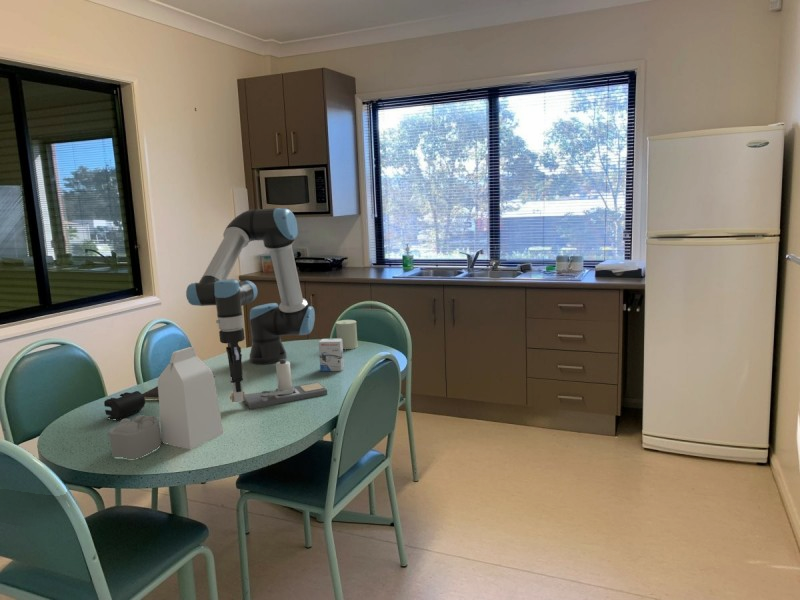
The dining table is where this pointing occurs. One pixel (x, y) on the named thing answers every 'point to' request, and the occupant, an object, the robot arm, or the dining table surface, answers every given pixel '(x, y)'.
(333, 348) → the ink box
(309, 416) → the dining table surface
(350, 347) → the cream tapered cylinder
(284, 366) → the plug
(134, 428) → the lumpy-topped squat cylinder
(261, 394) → the clip
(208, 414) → the milk
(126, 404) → the end cap
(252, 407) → the grey slotted tray
